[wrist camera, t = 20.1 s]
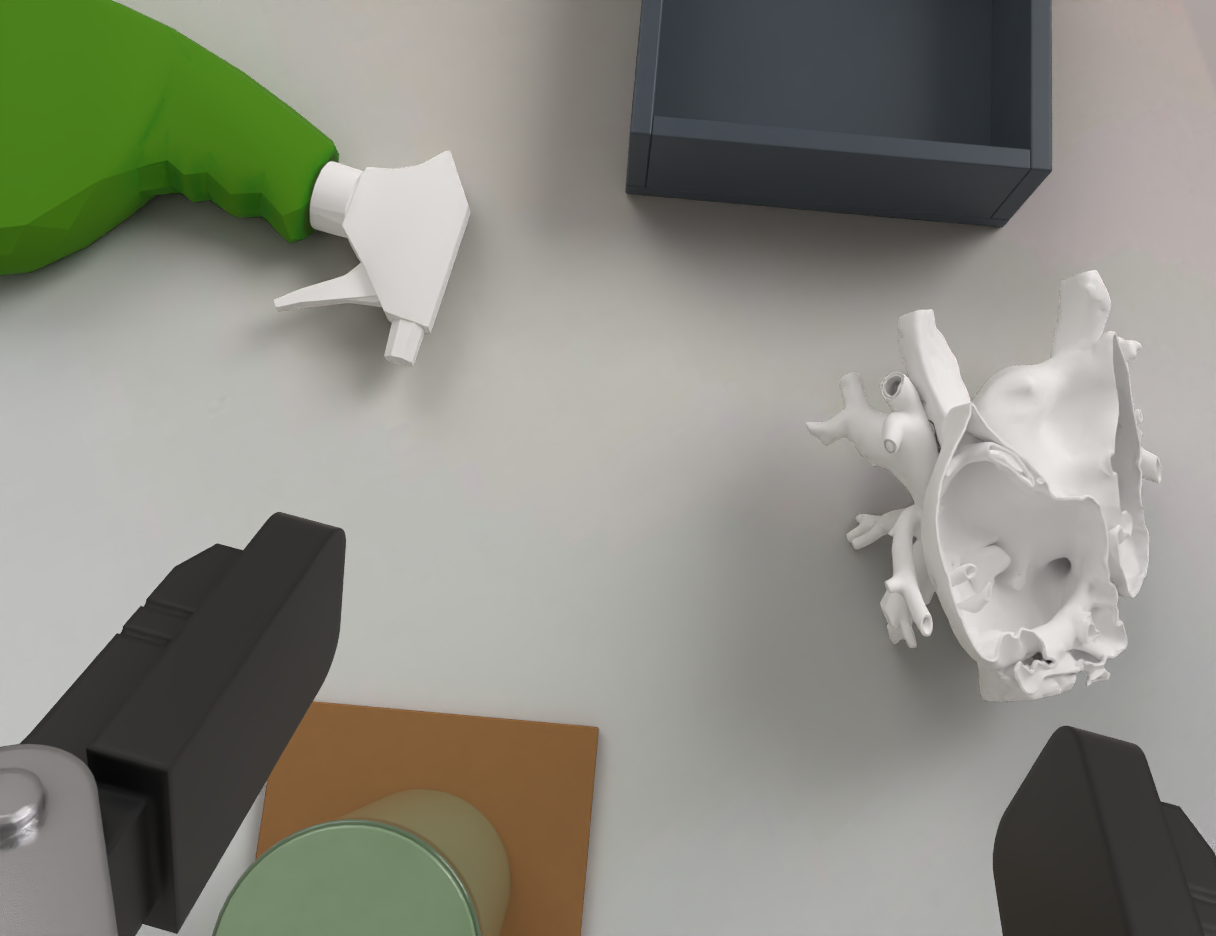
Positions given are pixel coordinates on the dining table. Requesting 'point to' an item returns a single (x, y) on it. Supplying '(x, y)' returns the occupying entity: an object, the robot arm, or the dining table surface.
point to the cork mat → (453, 791)
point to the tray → (845, 105)
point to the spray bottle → (201, 160)
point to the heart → (1012, 497)
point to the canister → (378, 875)
